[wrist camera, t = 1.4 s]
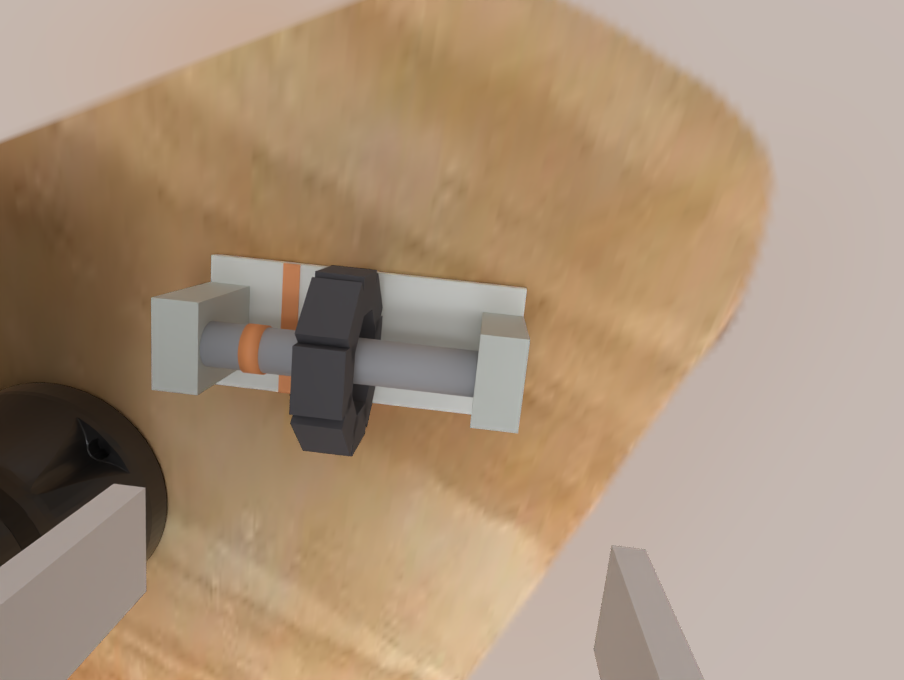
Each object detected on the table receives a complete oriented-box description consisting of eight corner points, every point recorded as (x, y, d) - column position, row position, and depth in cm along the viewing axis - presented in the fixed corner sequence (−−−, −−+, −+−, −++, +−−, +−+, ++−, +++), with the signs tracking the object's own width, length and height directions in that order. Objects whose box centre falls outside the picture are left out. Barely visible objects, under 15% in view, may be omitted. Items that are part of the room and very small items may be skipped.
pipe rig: (215, 380, 39) (151, 419, 32) (217, 254, 37) (150, 265, 30) (509, 414, 38) (514, 463, 31) (526, 287, 36) (534, 307, 29)
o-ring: (336, 411, 37) (286, 475, 28) (345, 260, 35) (295, 278, 26) (375, 415, 37) (337, 481, 28) (386, 264, 35) (350, 284, 26)
